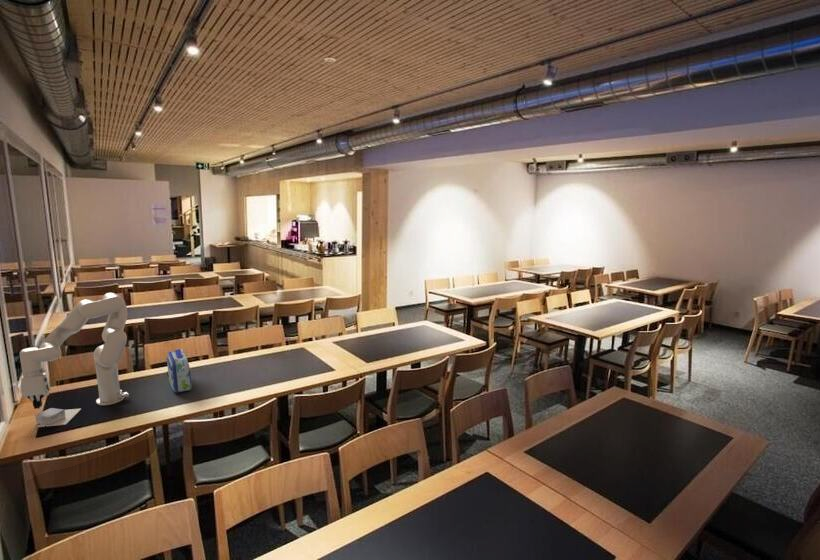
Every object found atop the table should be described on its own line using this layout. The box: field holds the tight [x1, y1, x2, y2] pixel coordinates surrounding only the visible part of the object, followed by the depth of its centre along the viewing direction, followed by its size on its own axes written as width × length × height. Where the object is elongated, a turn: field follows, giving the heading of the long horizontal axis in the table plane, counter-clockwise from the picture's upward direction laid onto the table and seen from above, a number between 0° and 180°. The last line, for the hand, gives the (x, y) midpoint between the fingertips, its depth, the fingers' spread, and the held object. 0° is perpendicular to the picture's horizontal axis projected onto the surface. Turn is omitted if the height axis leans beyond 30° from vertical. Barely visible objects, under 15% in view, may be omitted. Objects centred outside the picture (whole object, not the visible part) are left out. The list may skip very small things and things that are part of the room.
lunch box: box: [166, 348, 193, 394], centre depth 253 cm, size 26×11×21 cm, turn 35°
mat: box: [36, 408, 82, 428], centre depth 217 cm, size 12×16×1 cm
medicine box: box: [34, 407, 66, 425], centre depth 213 cm, size 8×4×9 cm
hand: (38, 407), depth 213 cm, fingers closed
